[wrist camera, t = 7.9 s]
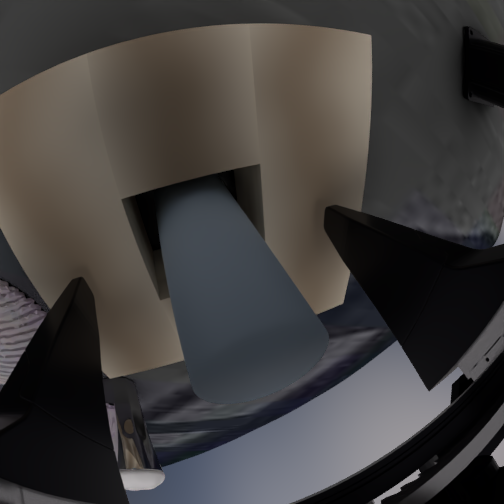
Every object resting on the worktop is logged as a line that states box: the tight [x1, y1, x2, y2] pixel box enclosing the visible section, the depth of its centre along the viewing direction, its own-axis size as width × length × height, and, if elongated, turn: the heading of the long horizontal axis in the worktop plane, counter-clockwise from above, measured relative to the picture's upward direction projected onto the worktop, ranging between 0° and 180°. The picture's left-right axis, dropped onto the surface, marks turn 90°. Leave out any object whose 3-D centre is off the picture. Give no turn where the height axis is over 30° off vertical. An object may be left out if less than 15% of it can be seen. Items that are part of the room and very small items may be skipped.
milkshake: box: [103, 377, 165, 492], centre depth 15 cm, size 4×5×10 cm
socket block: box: [0, 24, 372, 379], centre depth 11 cm, size 14×14×4 cm
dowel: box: [154, 173, 329, 404], centre depth 9 cm, size 3×3×9 cm
